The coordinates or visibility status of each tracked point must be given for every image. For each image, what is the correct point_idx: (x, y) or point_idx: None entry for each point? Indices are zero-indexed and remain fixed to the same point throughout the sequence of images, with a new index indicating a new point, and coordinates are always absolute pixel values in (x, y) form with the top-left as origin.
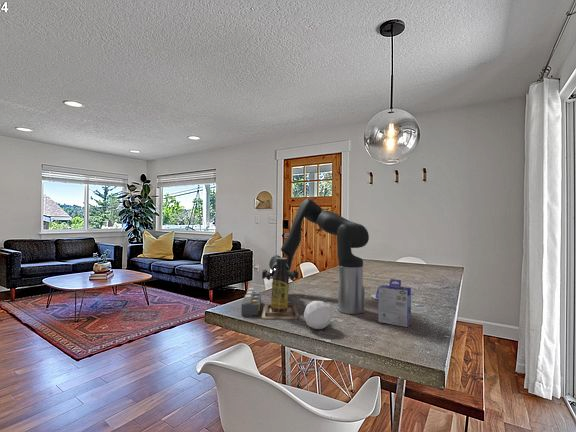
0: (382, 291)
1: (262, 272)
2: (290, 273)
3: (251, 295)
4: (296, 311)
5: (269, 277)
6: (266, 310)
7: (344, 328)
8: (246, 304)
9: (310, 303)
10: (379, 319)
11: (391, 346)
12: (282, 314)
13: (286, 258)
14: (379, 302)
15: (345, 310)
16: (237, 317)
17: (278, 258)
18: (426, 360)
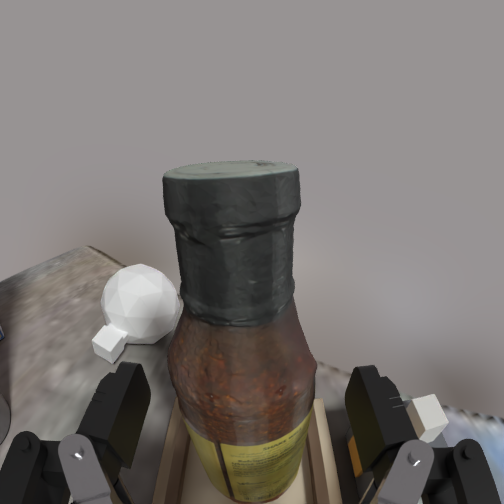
0: None
1: (473, 442)
2: (117, 410)
3: None
4: (165, 462)
5: (352, 380)
6: (313, 429)
7: (88, 327)
8: (406, 401)
9: (153, 278)
10: (1, 330)
11: (79, 273)
12: None
13: (174, 169)
14: None
15: (3, 400)
16: None
17: (270, 162)
18: (78, 253)
